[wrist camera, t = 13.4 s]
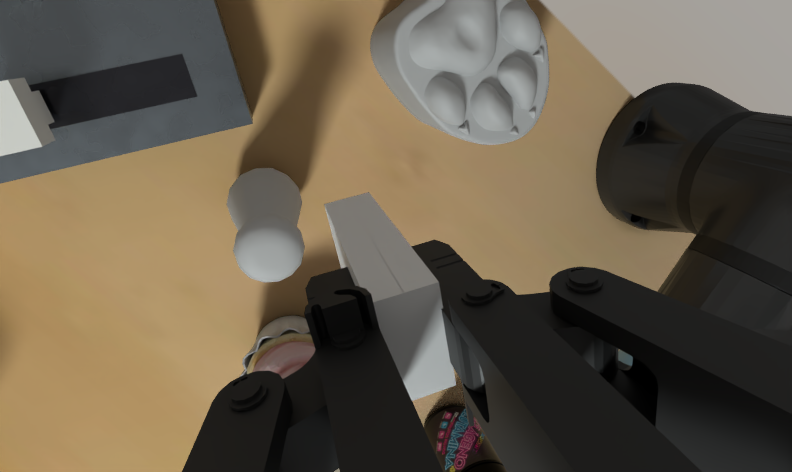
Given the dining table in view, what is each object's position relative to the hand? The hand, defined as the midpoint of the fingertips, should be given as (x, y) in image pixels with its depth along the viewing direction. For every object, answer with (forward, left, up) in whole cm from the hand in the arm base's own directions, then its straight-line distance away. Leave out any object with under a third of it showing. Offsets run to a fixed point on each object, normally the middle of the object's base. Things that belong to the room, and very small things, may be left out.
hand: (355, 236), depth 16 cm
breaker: (+16, -5, -21) cm, 27 cm away
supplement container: (-8, +38, -26) cm, 47 cm away
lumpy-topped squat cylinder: (-14, -2, -26) cm, 30 cm away
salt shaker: (+4, +5, -26) cm, 27 cm away
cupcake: (+6, +20, -26) cm, 34 cm away
